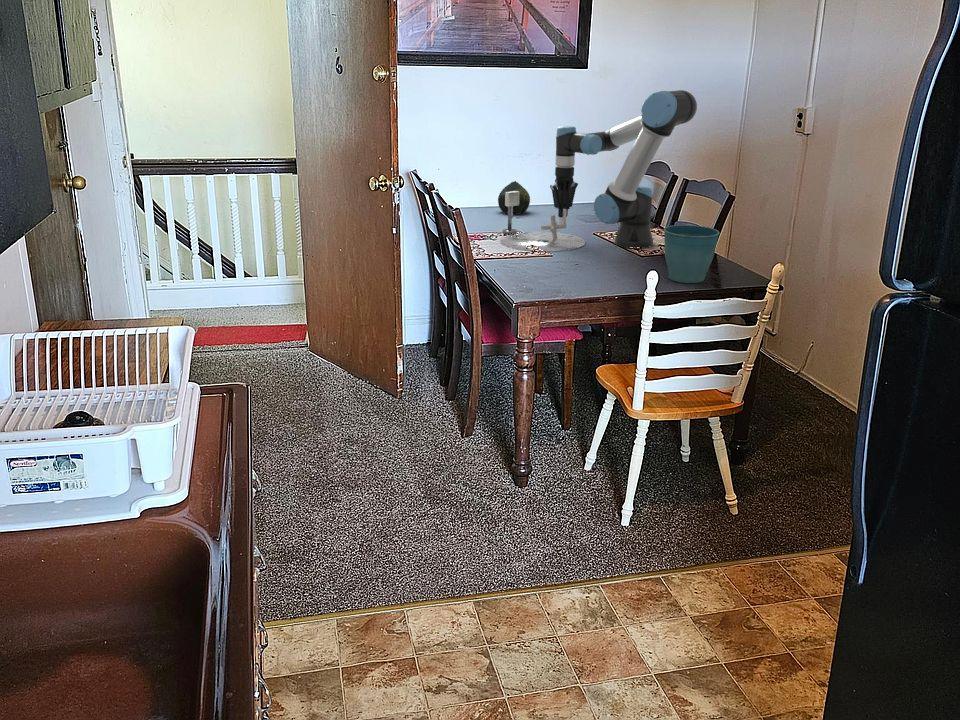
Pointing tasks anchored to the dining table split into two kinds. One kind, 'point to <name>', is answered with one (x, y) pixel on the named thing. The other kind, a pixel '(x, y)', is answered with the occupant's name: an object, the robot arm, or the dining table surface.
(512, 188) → the squash
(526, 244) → the disc
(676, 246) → the flower pot
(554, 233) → the pipe connector
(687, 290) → the dining table surface
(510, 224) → the block topped stand
